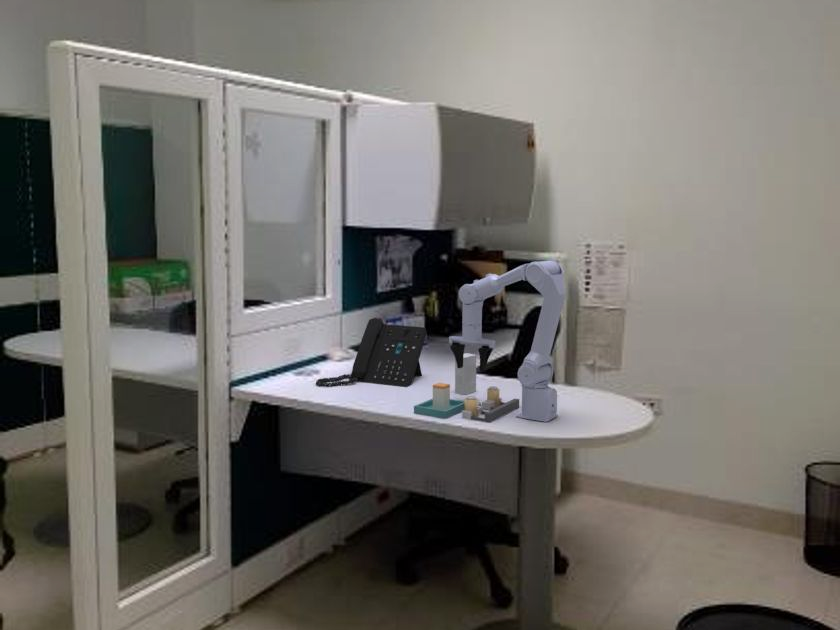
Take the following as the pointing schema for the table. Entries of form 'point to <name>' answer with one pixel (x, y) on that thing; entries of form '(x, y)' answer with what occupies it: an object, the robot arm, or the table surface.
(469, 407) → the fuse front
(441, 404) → the block
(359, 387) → the table surface
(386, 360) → the office phone
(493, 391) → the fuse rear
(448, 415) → the tray
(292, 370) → the table surface
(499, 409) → the holder block
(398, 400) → the table surface
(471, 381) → the skincare box
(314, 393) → the table surface
